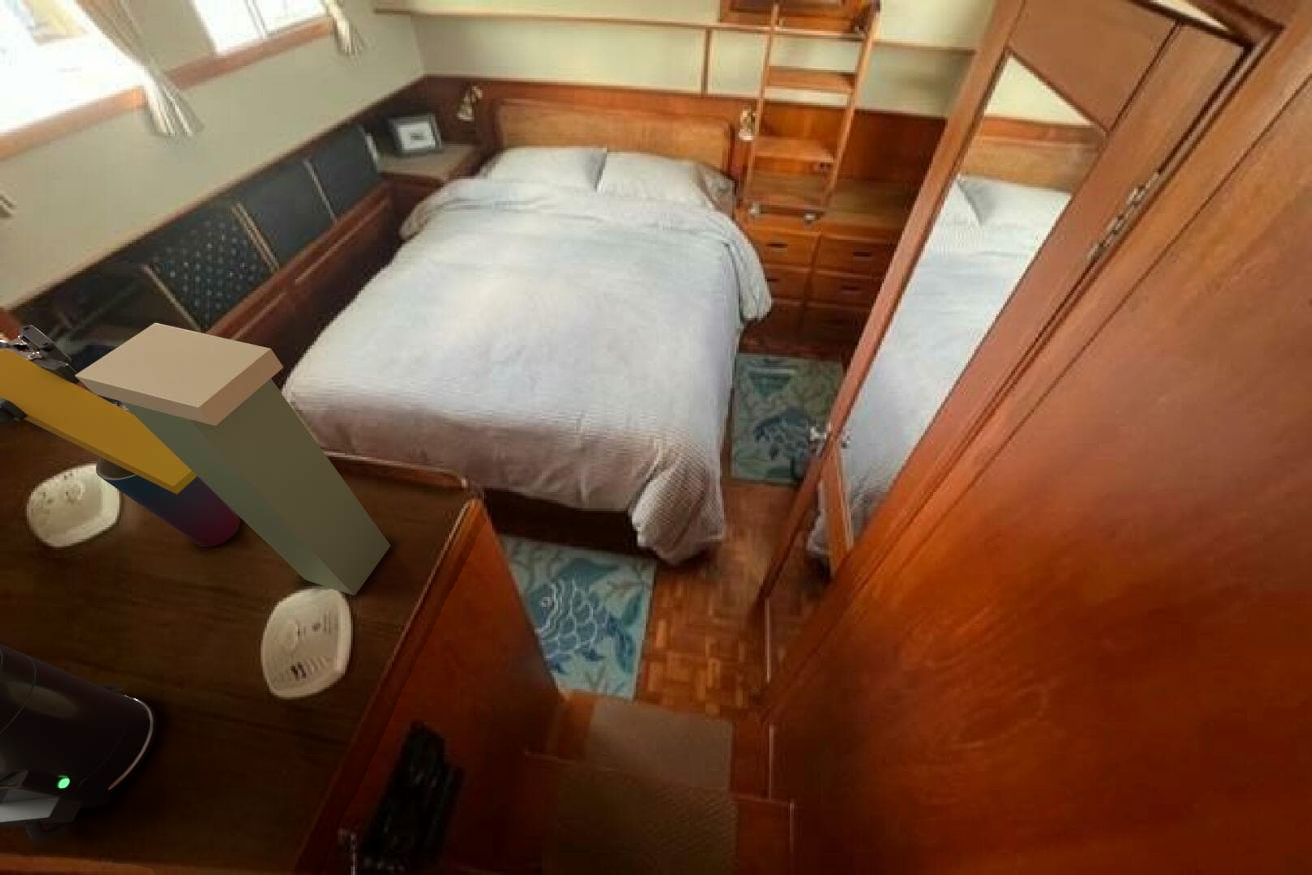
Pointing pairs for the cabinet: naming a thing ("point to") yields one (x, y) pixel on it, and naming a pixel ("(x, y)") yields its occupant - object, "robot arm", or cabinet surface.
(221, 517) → the cup
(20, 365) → the yellow bar
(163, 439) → the stand
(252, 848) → the cabinet surface
